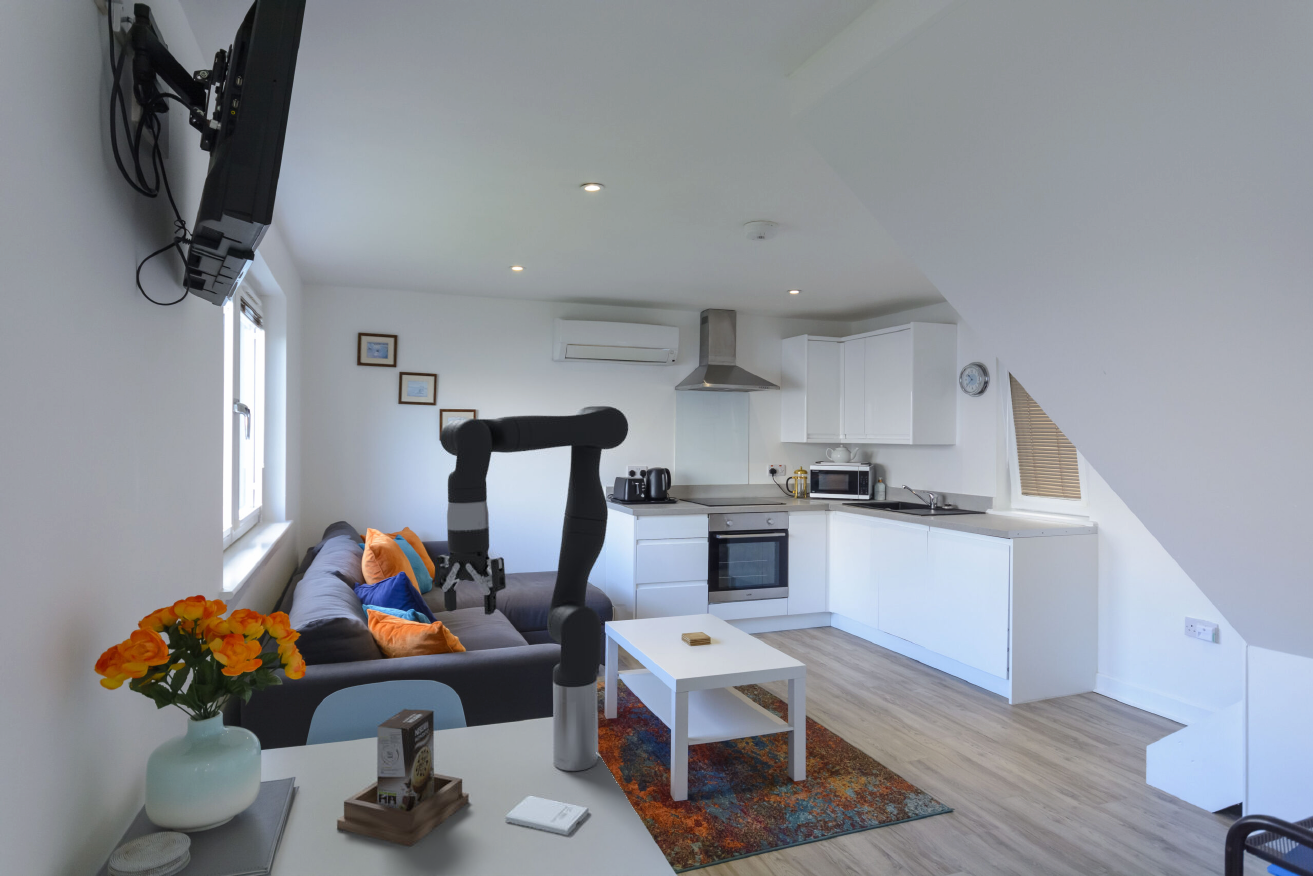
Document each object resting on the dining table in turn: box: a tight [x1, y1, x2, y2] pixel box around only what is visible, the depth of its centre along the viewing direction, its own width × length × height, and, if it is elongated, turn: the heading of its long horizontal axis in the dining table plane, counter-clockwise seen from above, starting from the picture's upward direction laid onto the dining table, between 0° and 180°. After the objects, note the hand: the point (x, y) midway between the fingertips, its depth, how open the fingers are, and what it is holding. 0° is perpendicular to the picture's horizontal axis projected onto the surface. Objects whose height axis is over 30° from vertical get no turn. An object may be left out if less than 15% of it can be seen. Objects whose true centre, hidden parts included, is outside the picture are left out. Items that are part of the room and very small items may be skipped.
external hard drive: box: [505, 795, 590, 836], centre depth 132 cm, size 2×8×12 cm
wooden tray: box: [336, 772, 470, 847], centre depth 133 cm, size 16×16×4 cm
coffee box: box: [376, 708, 435, 812], centre depth 133 cm, size 9×6×16 cm
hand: (470, 612), depth 137 cm, fingers open, 8 cm apart
